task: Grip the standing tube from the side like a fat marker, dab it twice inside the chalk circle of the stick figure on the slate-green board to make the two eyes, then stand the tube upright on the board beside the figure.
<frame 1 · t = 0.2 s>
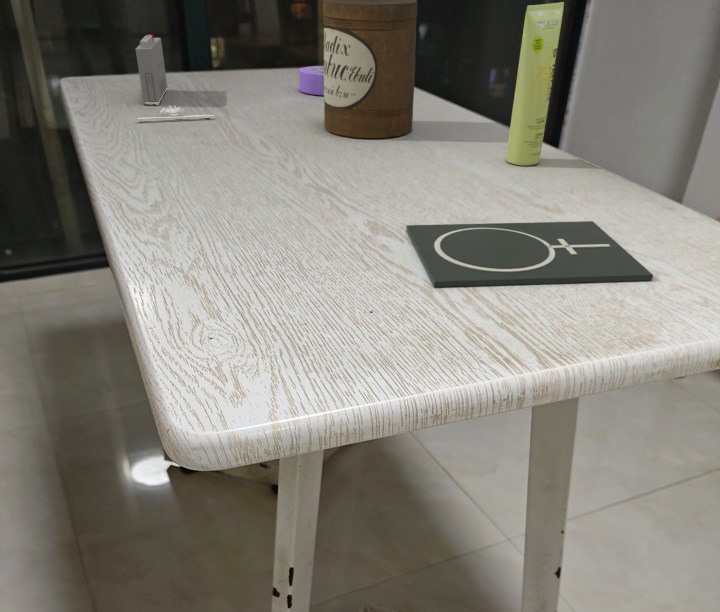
chalkboard: (520, 253, 75), on the table
tube: (520, 163, 104), on the table
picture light: (174, 119, 123), on the table
tape roll: (328, 92, 145), on the table
wooden container: (368, 130, 119), on the table
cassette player: (156, 98, 137), on the table
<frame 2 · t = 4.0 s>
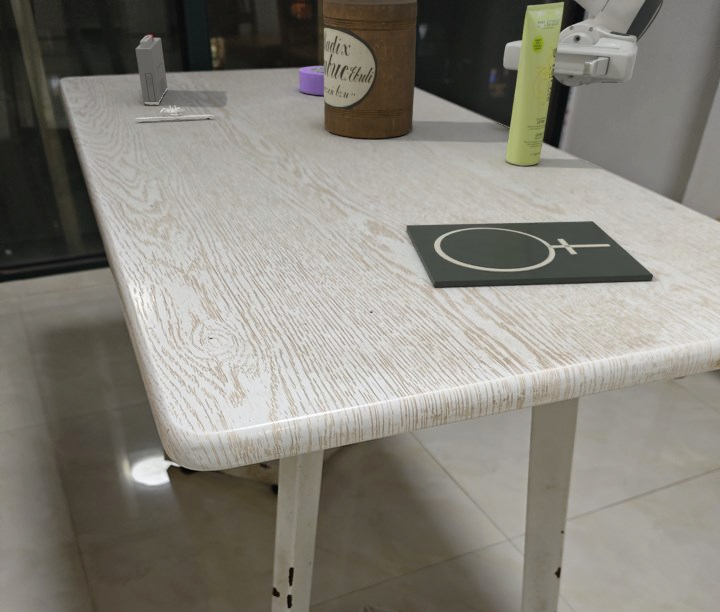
hand: (556, 66, 105), 11 cm above the table, tool horizontal, fingers open, 8 cm apart
nothing on the table moved.
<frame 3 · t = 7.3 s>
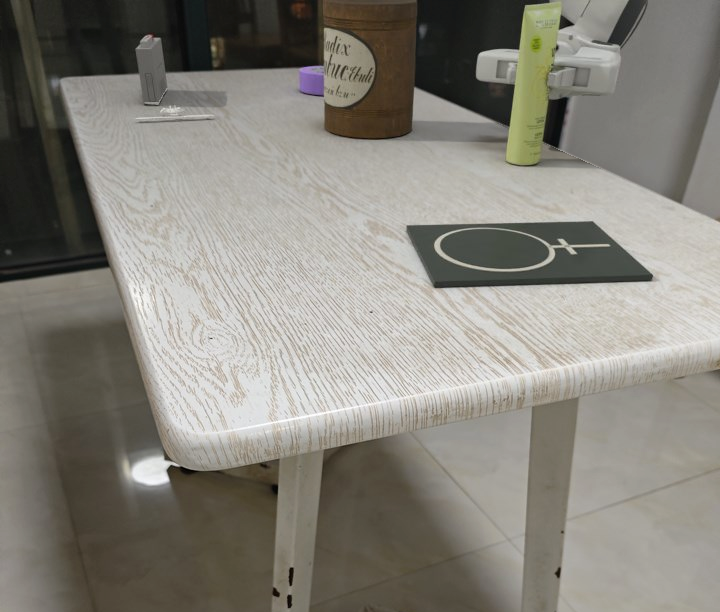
hand: (532, 78, 96), 11 cm above the table, tool horizontal, fingers closed on tube, 4 cm apart
tube: (520, 163, 104), on the table, touching gripper
everything else where it was.
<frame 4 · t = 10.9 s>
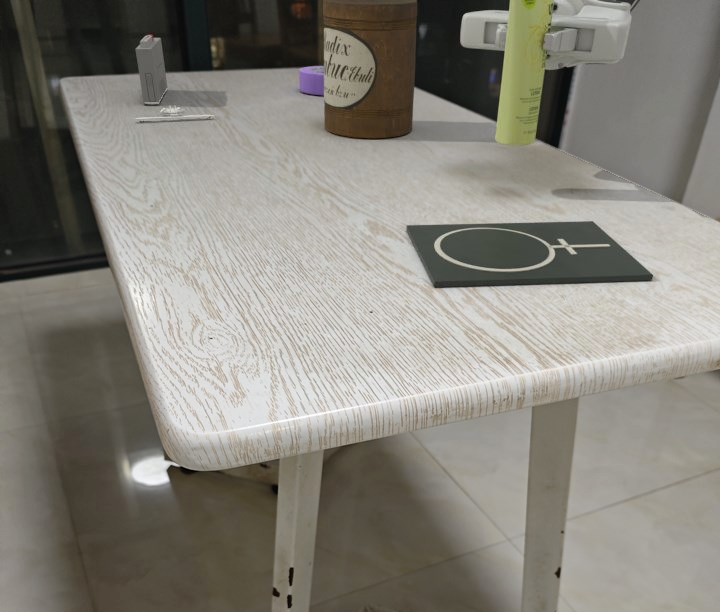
hand: (525, 40, 81), 17 cm above the table, tool horizontal, fingers closed on tube, 4 cm apart
tube: (513, 144, 88), point 6 cm above the table, touching gripper
everything else where it was.
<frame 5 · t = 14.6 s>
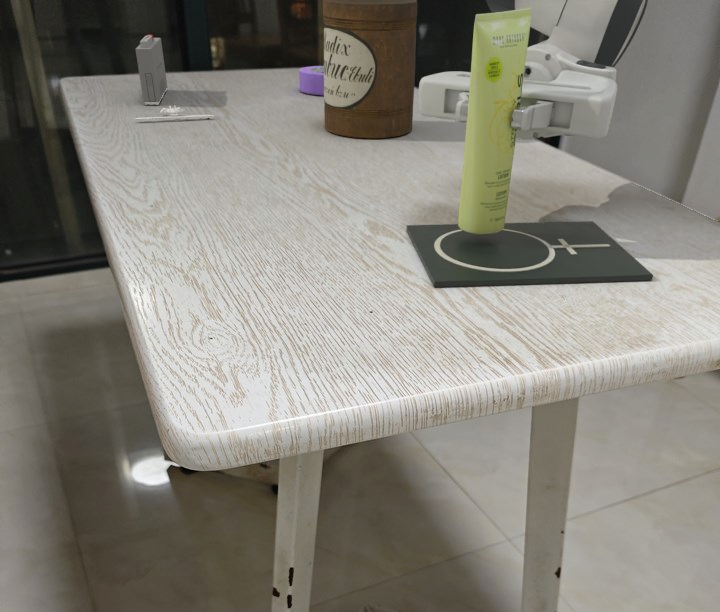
hand: (490, 117, 68), 13 cm above the table, tool horizontal, fingers closed on tube, 4 cm apart
tube: (479, 230, 75), point 2 cm above the table, touching gripper
everything else where it was.
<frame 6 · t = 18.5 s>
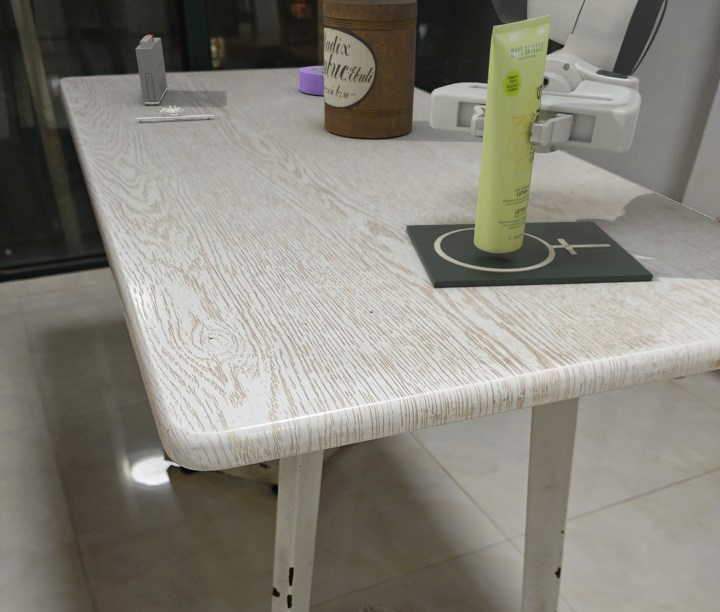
hand: (507, 131, 64), 13 cm above the table, tool horizontal, fingers closed on tube, 4 cm apart
tube: (495, 247, 72), point 2 cm above the table, touching gripper
everything else where it was.
when the fingers open (12 cm above the table, at t = 21.9 s): tube stays where it is, resting on chalkboard.
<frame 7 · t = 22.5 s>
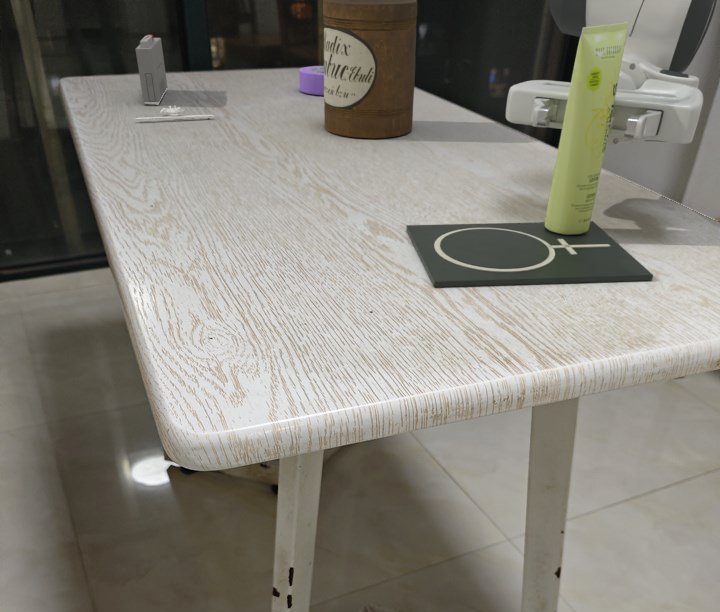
hand: (585, 123, 71), 12 cm above the table, tool horizontal, fingers open, 8 cm apart
tube: (564, 230, 79), resting on chalkboard
everything else where it was.
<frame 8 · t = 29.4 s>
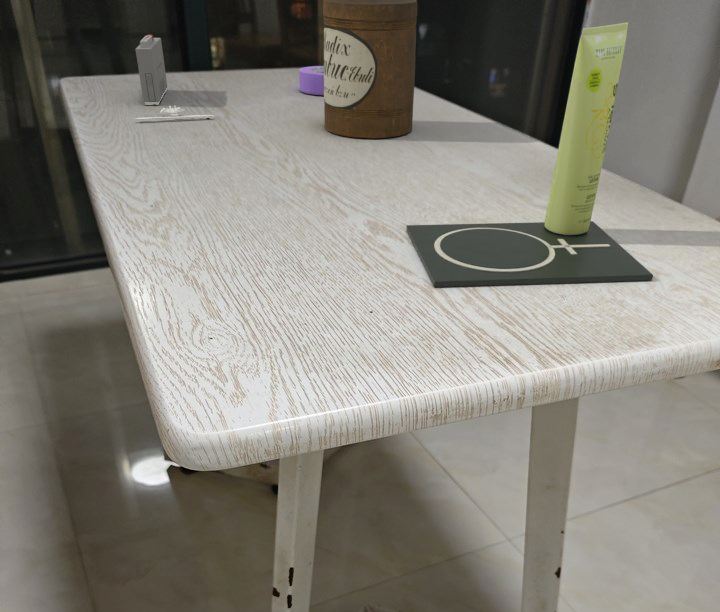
nothing on the table moved.
at the end: tube 0.7 cm from the target spot on the chalkboard, point 0.4 cm above the chalkboard's base; tube tilted 0°; the gripper is holding nothing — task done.
